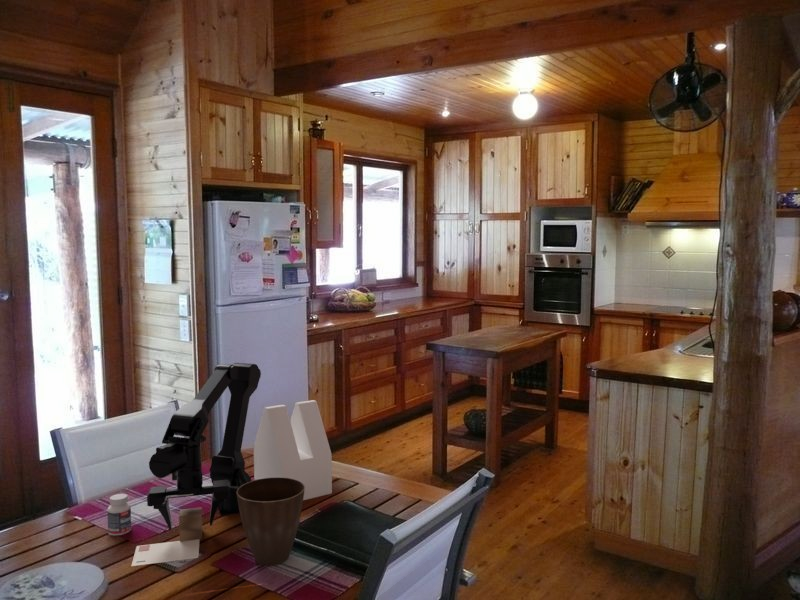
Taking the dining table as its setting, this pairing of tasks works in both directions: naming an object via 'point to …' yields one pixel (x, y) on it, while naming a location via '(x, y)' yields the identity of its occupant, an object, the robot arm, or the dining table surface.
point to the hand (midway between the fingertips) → (190, 527)
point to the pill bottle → (119, 515)
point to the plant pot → (271, 517)
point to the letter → (166, 552)
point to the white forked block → (294, 448)
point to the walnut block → (190, 524)
